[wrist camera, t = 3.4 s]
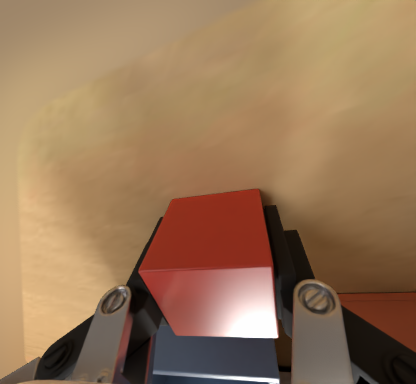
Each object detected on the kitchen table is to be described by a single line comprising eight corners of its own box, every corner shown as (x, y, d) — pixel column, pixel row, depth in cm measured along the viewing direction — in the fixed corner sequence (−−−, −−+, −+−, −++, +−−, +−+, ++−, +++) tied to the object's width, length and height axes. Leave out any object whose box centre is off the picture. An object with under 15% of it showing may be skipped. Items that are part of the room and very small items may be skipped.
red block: (171, 198, 11) (136, 271, 7) (258, 187, 10) (273, 265, 6) (193, 257, 13) (175, 336, 9) (265, 252, 12) (279, 339, 8)
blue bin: (124, 297, 16) (91, 366, 13) (267, 294, 14) (279, 378, 10) (167, 358, 22) (153, 419, 18) (275, 363, 20) (285, 434, 16)
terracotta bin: (295, 294, 14) (318, 381, 10) (507, 290, 11) (643, 402, 8) (295, 364, 19) (310, 438, 15) (438, 371, 17) (497, 460, 13)
